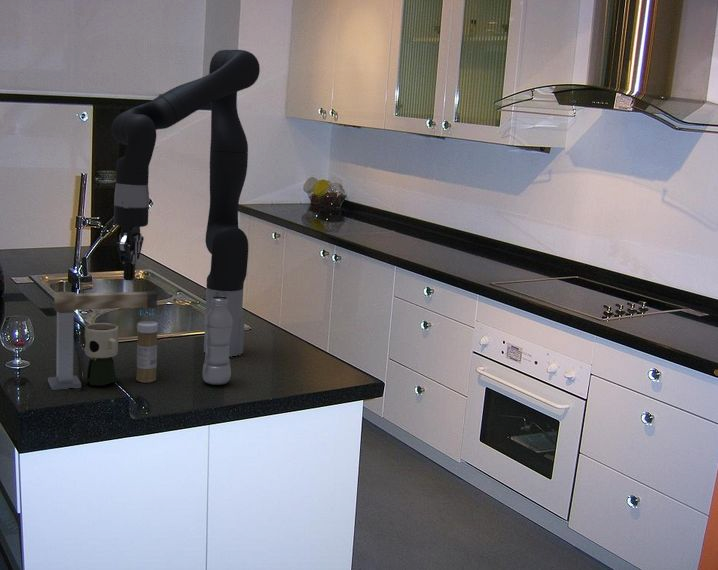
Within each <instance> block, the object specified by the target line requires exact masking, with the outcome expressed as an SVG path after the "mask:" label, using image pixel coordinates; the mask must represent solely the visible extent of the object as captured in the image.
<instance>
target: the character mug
mask: <svg viewBox="0 0 718 570" xmlns="http://www.w3.org/2000/svg"><path fill="white" fill-rule="evenodd" d="M84 340H85V345H84V348H83V349H84V350H83V352H84V354H85V356H86V357H89V360H88V364H87V370H86V376H85V377H86V378H85V383H87V384H88V383H89V385H90V386H106V385H108V384H112V383H114V382H116V371H115V370H116V369H115V362H114V359H113V357H115V356H117V355H118V352H119V326H118V325H117V324H114V323H109V322H95V323H89V324H87V325H85V326H84ZM88 380H89V382H88Z"/></svg>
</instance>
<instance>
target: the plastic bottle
mask: <svg viewBox="0 0 718 570" xmlns="http://www.w3.org/2000/svg"><path fill="white" fill-rule="evenodd" d="M211 306H212V308H211V310H210V311H209V312H208V314H207V315H206V317H205V316H204V333H205V332H206V354H204V362H203V366H202V379H203V381H204V382H205V383H206V384H209V385H212V386H214V385H218V386H221V385H225V384H227V383H228V382H229V381H230V379H231V375H232V369H231V361H230V359H231V358H229V346H230V345H229V344H230V336H231V331H232V325H233V319H232V316H231V314H230V312H229V311H228V310H227V306H228V298H227V297H224V296H213V297H212V303H211Z"/></svg>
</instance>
